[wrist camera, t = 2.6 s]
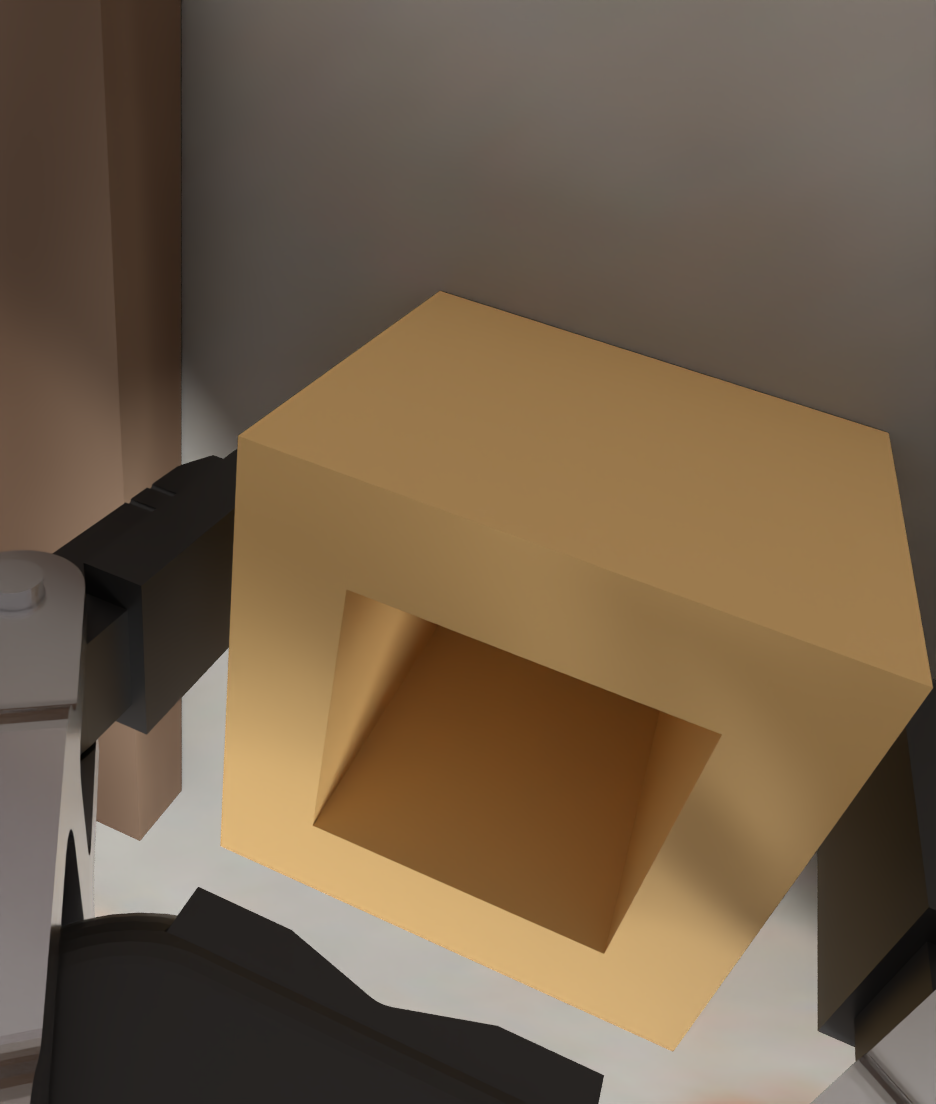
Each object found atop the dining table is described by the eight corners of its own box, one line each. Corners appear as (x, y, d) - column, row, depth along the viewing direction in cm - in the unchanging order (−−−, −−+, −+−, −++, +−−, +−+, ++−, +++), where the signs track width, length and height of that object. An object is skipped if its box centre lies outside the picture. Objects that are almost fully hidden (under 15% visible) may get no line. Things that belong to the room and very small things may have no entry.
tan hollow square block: (888, 433, 11) (932, 687, 6) (714, 754, 14) (673, 1052, 10) (439, 291, 12) (238, 435, 7) (381, 624, 15) (220, 846, 11)
